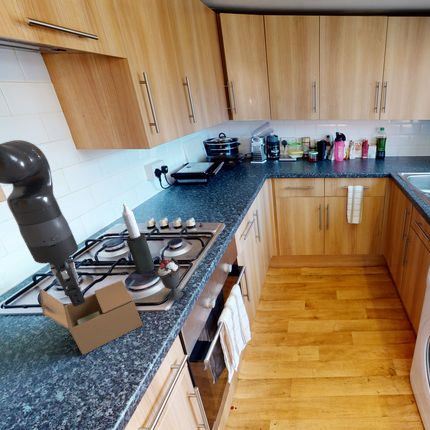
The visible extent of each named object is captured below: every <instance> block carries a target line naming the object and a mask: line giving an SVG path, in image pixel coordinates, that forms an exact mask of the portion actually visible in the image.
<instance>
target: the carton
mask: <svg viewBox="0 0 430 430" xmlns="http://www.w3.org/2000/svg"><path fill="white" fill-rule="evenodd" d="M93 292H94V293H92V294H90V295H88V296H85V297H84V299H85V303H83V304H81V305H78V306H73V304H72V302H70V303H67V304H65V305H63V306H64V310H65V314H66V318H67V322H68V326H69V327H68V331H69V332H70V334H71V337H72V339H73V340H74V342H75V344H76V346H77V347H78V349H79V351H80V353H81V354H82V356H84V355H86V354H88V353H90V352H92V351H95V350H96V349H98V348H100V347H102V346H104V345H106V344H108V343H110V342H112V341H114V340H115V339H118V338H120V337H122V336H124V335H126V334H128V333H129V332H132V331H134V330H136V329H138V328H140V327H142V326H143V325H144V324H143V322H142V319H141V317H140V313H139V311H138V309H137V306H136V303H135V301H134V300H133V298H132V296H131V294H130V292H129V291H128V289H127V287H126V285H125V283H124V281H123V280H122V279H121V280H119V281H116V282H113V283H110V284H108V285H106V286H104V287H101V288H98V289H96V290H94V291H93ZM97 311H99V313H100V316H97V317H95V318H93V319H91V320H88V321H86V322H84V323H82V324H79V325H78V322H77V320H79V319H81V318H84V317H86V316H88V315H91V314H93V313H95V312H97Z"/></svg>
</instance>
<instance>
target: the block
mask: <svg viewBox="0 0 430 430" xmlns="http://www.w3.org/2000/svg"><path fill="white" fill-rule="evenodd" d="M97 316H100V313H99V311H97V312H95V313H93V314H91V315H88V316H86V317H84V318H81V319H79V320H77V322H78V325H79V324H82V323H84V322H86V321H88V320H91V319H93V318H95V317H97Z"/></svg>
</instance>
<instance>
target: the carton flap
mask: <svg viewBox="0 0 430 430" xmlns="http://www.w3.org/2000/svg"><path fill="white" fill-rule="evenodd" d="M39 296H40V304H41V311H42V314H43V316H46V317H47V318H49V319H51V320H52V321H54V322H55V323H57V324H58V325H60V326H62V327H63V328H65V329H69V326H68V322H67V318H66V314H65V310H64V306H65V305H64V303H63V302H61V301H60V300H59V299H58V298H56V297H54V296H52V294H50V293H48V292H47V291H45V290H44V289H42V288H39Z"/></svg>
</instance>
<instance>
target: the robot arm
mask: <svg viewBox="0 0 430 430" xmlns="http://www.w3.org/2000/svg"><path fill="white" fill-rule="evenodd" d="M0 184H2V185H12V191H11V192H10V194H9V195H8V196H7V198H6V203H7V206H8V209H9V211H10V212H11V214H12V216H13V218H14V221H15V222H16V224H17V226H18V230H19V233H20V236H21V238H22V239H23V242H24V244H26V245H25V246H26V247H27V249H28V251H29V252H30V255H31V257H32V259H33V261H34V262H35V263H38V264H49V266H50V271H51V273H52V274H53V275H54V276H55V278H56V281H57V284H58V285H59V286H61V287H62V289H63V292H64V295H65V296H66V297H68V298H69V300H70V303H72V304H73V306H78V305H81V304H83V303H85V299H84V298H85V297H84V295H83V293H82V291H81V290H82V288H81V286H80V282H79V279H80V277H79V275H78V273H77V270H76V264H75V262H74V259H73V255H74V254H75V253H77V251H78V250H79V245H78V243H77V240H76V239H75V236H74V234H73V231H72V229H71V227H70V225H69V222H68V220H67V219H66V216H64V213H63V212H62V210H61V208H60V204H59V203H58V200H57V199H56V197H55V195H54V186H53V177H52V171H51V166H50V163H49V160H48V158H47V157H46V155H45V153H44V152H43V151H42V150H41V148H39V146H37V145H35V144H34V143H32V142H30V141H27V140H22V139H14V140H9V141H5V142H3V143H0Z"/></svg>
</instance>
